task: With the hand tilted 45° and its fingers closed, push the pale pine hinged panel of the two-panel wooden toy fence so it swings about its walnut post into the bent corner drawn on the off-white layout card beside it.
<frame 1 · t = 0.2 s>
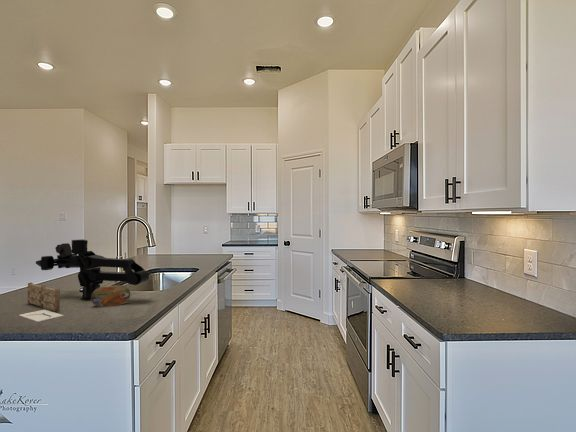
hand: (44, 261, 164), 16 cm above the countertop, tool horizontal, fingers open, 9 cm apart
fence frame: (43, 307, 144), on the countertop
layout card: (41, 315, 133), on the countertop
fence panel: (35, 294, 147), point 5 cm above the countertop, hinge at 0.0°
tin: (110, 305, 150), on the countertop
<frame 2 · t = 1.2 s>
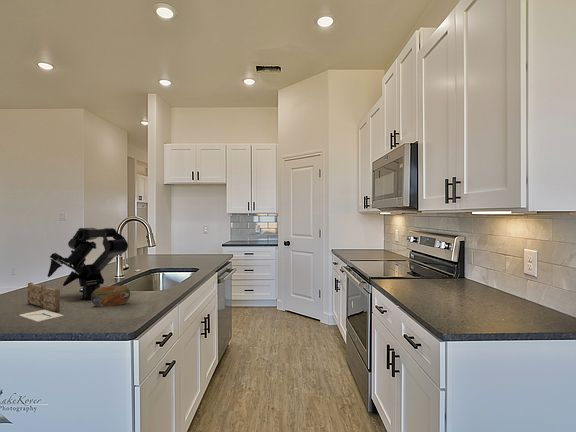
hand: (55, 281, 155), 9 cm above the countertop, tool tilted 40°, fingers open, 9 cm apart
nothing on the countertop moved.
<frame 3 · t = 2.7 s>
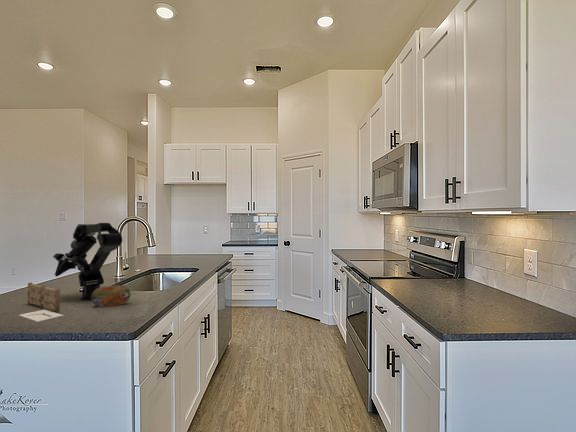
hand: (55, 275, 153), 12 cm above the countertop, tool tilted 45°, fingers closed
nothing on the countertop moved.
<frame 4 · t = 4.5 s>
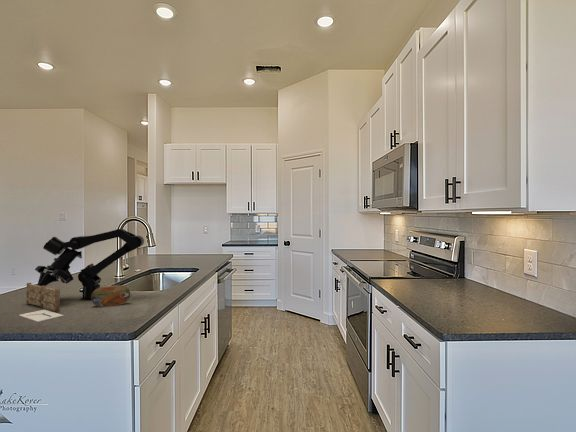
hand: (37, 289, 147), 7 cm above the countertop, tool tilted 45°, fingers closed, pressing on fence panel
fence panel: (34, 294, 147), point 5 cm above the countertop, hinge at 2.5°, touching gripper
everything else where it was.
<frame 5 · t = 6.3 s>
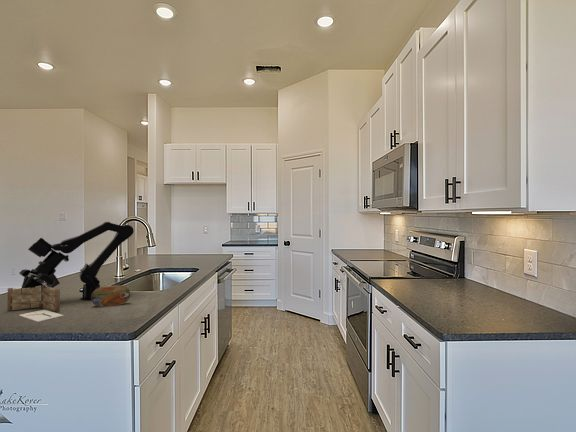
hand: (20, 294, 141), 6 cm above the countertop, tool tilted 45°, fingers closed
fence panel: (24, 297, 141), point 5 cm above the countertop, hinge at 59.0°, touching gripper
everything else where it was.
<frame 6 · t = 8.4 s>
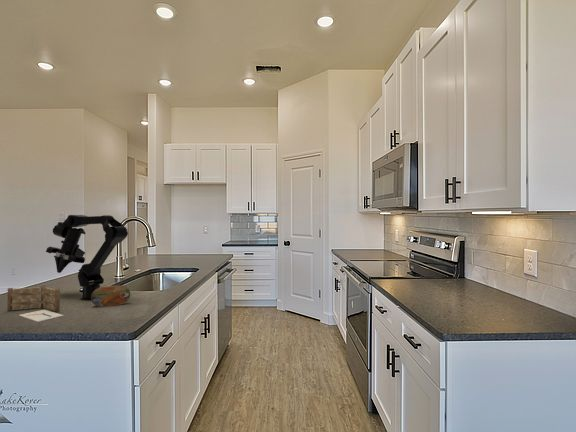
hand: (58, 272, 161), 11 cm above the countertop, tool tilted 20°, fingers closed
fence panel: (24, 297, 141), point 5 cm above the countertop, hinge at 59.0°
everything else where it was.
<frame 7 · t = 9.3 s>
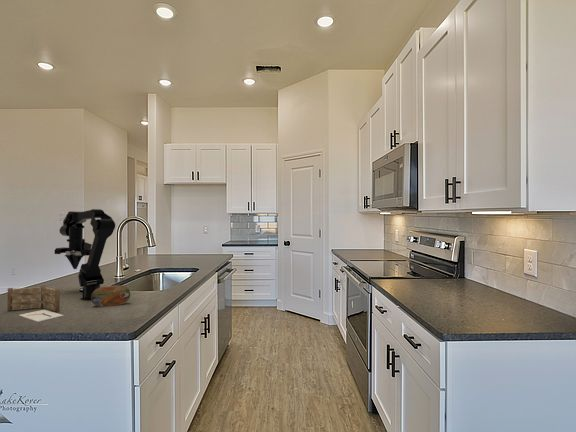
hand: (75, 269, 168), 12 cm above the countertop, tool pointing down, fingers closed
nothing on the countertop moved.
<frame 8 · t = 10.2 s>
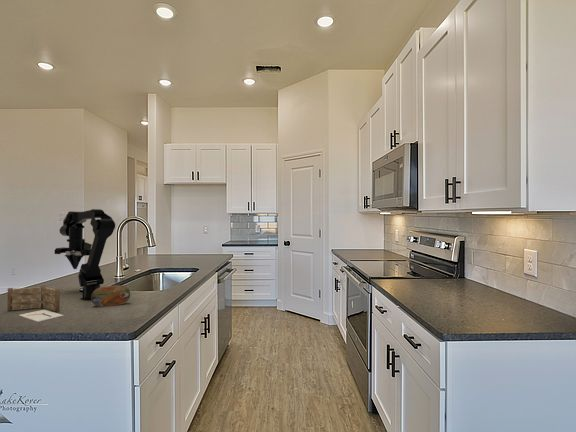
hand: (75, 269, 169), 12 cm above the countertop, tool pointing down, fingers closed
nothing on the countertop moved.
at the end: fence panel at +59° (first picture: +0°); tin moved 0.3 cm from its start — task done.
